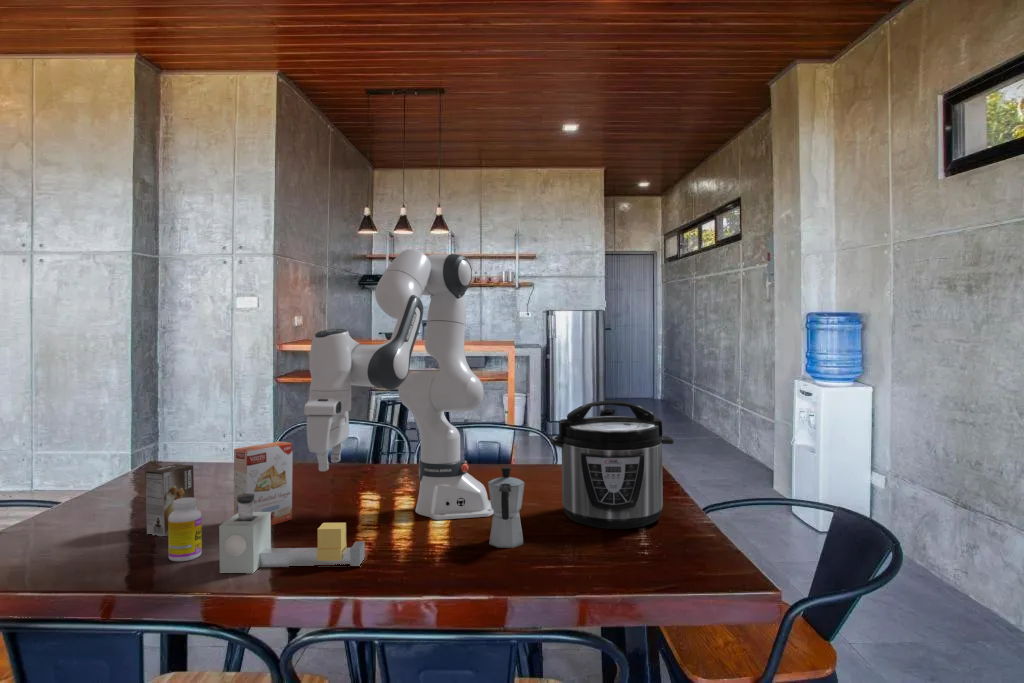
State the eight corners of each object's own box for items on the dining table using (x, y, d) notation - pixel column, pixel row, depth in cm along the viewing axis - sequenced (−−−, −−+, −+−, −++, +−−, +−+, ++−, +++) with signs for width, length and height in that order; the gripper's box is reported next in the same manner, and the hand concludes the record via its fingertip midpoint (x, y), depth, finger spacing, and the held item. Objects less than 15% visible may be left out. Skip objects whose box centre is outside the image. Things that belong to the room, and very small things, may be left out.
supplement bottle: (198, 560, 138) (198, 502, 137) (165, 564, 136) (164, 505, 136) (204, 550, 144) (204, 495, 144) (172, 553, 142) (171, 497, 142)
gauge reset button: (256, 525, 137) (256, 493, 137) (250, 530, 133) (250, 497, 133) (241, 525, 137) (241, 493, 137) (234, 530, 133) (234, 497, 133)
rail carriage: (346, 552, 138) (346, 522, 138) (340, 560, 133) (340, 529, 133) (323, 552, 138) (323, 522, 138) (317, 560, 133) (317, 529, 133)
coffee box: (176, 524, 164) (176, 463, 164) (195, 526, 162) (194, 464, 161) (145, 534, 155) (144, 470, 155) (164, 537, 153) (163, 472, 153)
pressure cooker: (535, 520, 167) (535, 402, 167) (587, 497, 190) (587, 393, 189) (639, 542, 149) (639, 410, 149) (682, 514, 172) (683, 399, 172)
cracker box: (247, 534, 156) (246, 450, 155) (232, 530, 159) (232, 448, 158) (294, 519, 167) (293, 442, 167) (279, 516, 171) (278, 440, 170)
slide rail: (364, 559, 138) (364, 541, 138) (359, 567, 133) (359, 549, 133) (264, 560, 138) (264, 542, 138) (255, 568, 133) (255, 550, 133)
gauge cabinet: (270, 556, 140) (270, 511, 140) (252, 574, 130) (252, 526, 130) (239, 556, 140) (239, 512, 140) (218, 574, 130) (218, 526, 129)
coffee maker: (489, 533, 156) (489, 461, 156) (524, 533, 156) (524, 461, 156) (485, 554, 141) (485, 475, 141) (524, 554, 141) (524, 475, 141)
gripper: (329, 398, 147) (328, 457, 147) (301, 407, 126) (300, 475, 126) (355, 398, 147) (355, 457, 147) (332, 407, 127) (332, 476, 127)
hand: (329, 466), depth 137 cm, fingers open, 8 cm apart
